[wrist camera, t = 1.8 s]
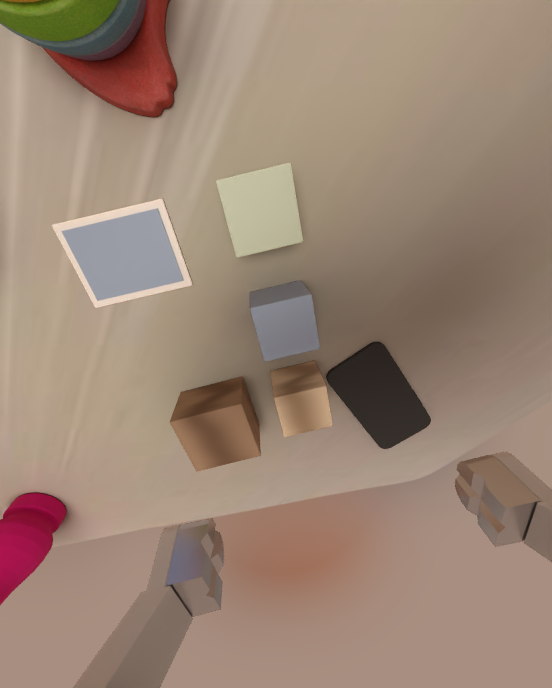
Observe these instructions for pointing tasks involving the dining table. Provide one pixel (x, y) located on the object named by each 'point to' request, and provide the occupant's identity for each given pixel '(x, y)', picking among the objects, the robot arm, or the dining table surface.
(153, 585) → the robot arm
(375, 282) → the dining table surface
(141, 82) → the stacking bear
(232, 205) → the sage block
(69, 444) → the dining table surface
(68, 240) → the tile
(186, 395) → the walnut base
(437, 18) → the dining table surface
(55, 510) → the pepper mill
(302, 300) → the slate block
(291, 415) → the maple block
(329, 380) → the phone
